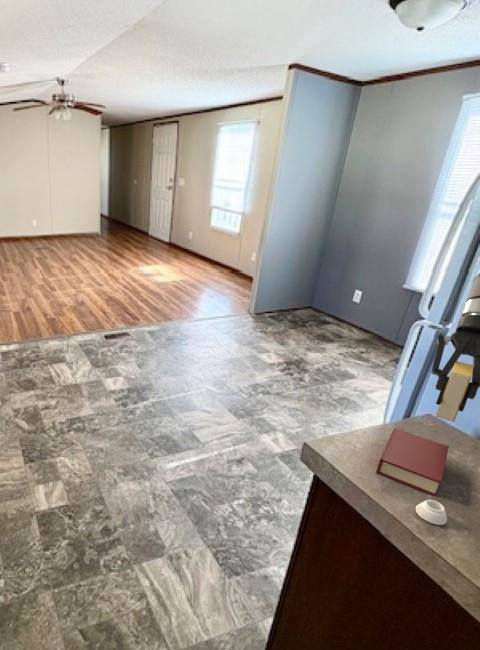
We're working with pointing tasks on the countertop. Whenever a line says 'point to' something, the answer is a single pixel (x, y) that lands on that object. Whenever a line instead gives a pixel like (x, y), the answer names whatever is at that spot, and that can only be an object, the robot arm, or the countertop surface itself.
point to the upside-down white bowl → (432, 512)
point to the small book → (455, 391)
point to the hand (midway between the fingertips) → (449, 405)
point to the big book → (413, 461)
